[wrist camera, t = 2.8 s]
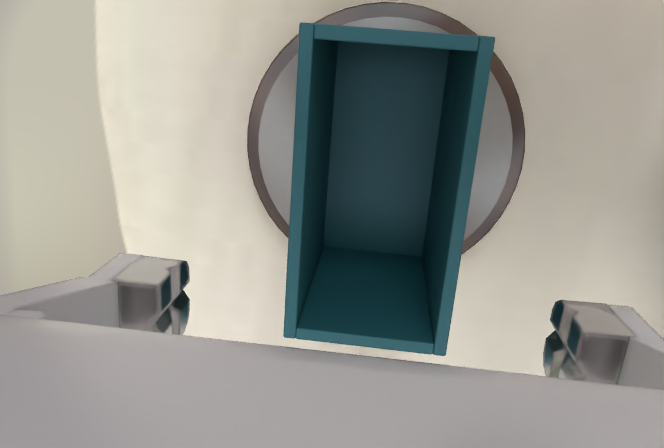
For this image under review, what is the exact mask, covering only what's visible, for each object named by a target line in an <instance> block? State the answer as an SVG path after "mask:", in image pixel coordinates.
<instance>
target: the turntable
mask: <svg viewBox="0 0 664 448" xmlns="http://www.w3.org/2000/svg"><path fill="white" fill-rule="evenodd" d="M313 24H327V25H340V26H354V27H367V28H380V29H394V30H407V31H420V32H434V33H447V34H460V35H473V36H478V35H477V34H476V33H474V32H473V31H472V30H470V29H469V28H467V27H466V26H465V25H463V24H462V23H460V22H459V21H457V20H455V19H453V18H451V17H449V16H447V15H445V14H443V13H440V12H438V11H435V10H432V9H429V8H426V7H423V6H417V5H412V4H407V3H394V2H380V3H369V4H362V5H358V6H354V7H350V8H346V9H343V10H340V11H338V12H335V13H333V14H330V15H328V16H326V17H324V18H322V19H320V20H319V21H317V22H315V23H313ZM298 45H299V34H298V35H297V36H295V37H294V38H293V39H292V40H291V41H290V42H289V43H288V44H287V45H286V46H285V47H284V48H283V49H282V50H281V52H280V53H279V54H278V56H277V57H276V58H275V59H274V61H273V62H272V63H271V65H270V66H269V68H268V70H267V72H266V73H265V75H264V77H263V78H262V80H261V83H260V85H259V87H258V90H257V92H256V95H255V97H254V101H253V105H252V108H251V112H250V117H249V125H248V137H247V150H248V158H249V166H250V170H251V174H252V178H253V182H254V185H255V187H256V190H257V192H258V195H259V197H260V200H261V202H262V203H263V205H264V207H265V209H266V211H267V212H268V214H269V216H270V217H271V218H272V220H273V221H274V222H275V224H276V225H277V227H278V228H279V229H280V230H281V231H282V232H283V233H284V234H285V235H286V236H287V237H288V239H289V220H290V201H291V182H292V162H293V143H294V123H295V104H296V84H297V65H298ZM524 151H525V128H524V119H523V112H522V108H521V104H520V100H519V96H518V94H517V91H516V89H515V86H514V84H513V81H512V79H511V77H510V75H509V74H508V72H507V70H506V68H505V67H504V65H503V63H502V62H501V60H500V59H499V58H498V57H497V55H496V54H495V53H494V52H493V55H492V62H491V68H490V74H489V81H488V87H487V93H486V100H485V106H484V113H483V119H482V125H481V132H480V138H479V145H478V151H477V157H476V164H475V170H474V177H473V183H472V189H471V196H470V202H469V209H468V215H467V221H466V228H465V234H464V240H463V247H462V253H461V254H463V253H464V252H466V251H467V250H468V249H470V248H471V247H472V246H474V245H475V244H476V243H477V242H478V241H479V240H480V239H481V238H482V237H483V236H485V235H486V234H487V233H488V232H489V230H490V229H491V228H492V227H493V225H494V224H495V223H496V222H497V221H498V219H499V218H500V217H501V215H502V213H503V212H504V210H505V208H506V207H507V205H508V204H509V202H510V199H511V197H512V195H513V193H514V190H515V188H516V186H517V183H518V179H519V176H520V173H521V169H522V164H523V157H524Z"/></svg>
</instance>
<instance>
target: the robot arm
mask: <svg viewBox="0 0 664 448" xmlns="http://www.w3.org/2000/svg"><path fill="white" fill-rule="evenodd" d="M188 282H189V266H188V263H187V261H182V260H173V259H165V258H157V257H149V256H143V255H137V254H126V253H119V254H118V255H117V256H115V257H114V258H113V259H111V260H110V261H109V262H107V263H106V264H105V265H103V266H102V267H101V268H100V269H98V270H97V271H96V272H94V273H93V274H91V275H90V276H89V277H88V278H82V277H79V278H75V279H70V280H66V281H62V282H57V283H53V284H49V285H44V286H40V287H35V288H32V289H27V290H22V291H18V292H14V293H9V294H6V295H1V296H0V448H664V340H663V339H662V338H661V337H660V335H659V334H658V333H657V332H656V331H655V330H654V329H653V328H652V327H651V326H650V325H649V324H648V323H647V322H646V321H645V320H644V319H643V318H642V317H641V316H640V315H639V314H638V313H637V312H636V311H635V310H634V309H633V308H632V307H629V306H619V305H607V304H603V303H591V302H579V301H567V300H559V301H557V302H555V305H554V307H553V309H552V313H551V318H550V321H551V323H552V325H553V327H554V329H555V331H554V332H553V333H552V334H551V335H549V336H548V337H547V338H546V341H545V347H544V352H543V366H544V371H545V374H546V376H537V375H529V374H520V373H511V372H502V371H494V370H485V369H476V368H467V367H458V366H450V365H441V364H432V363H423V362H414V361H406V360H397V359H388V358H379V357H371V356H362V355H353V354H344V353H335V352H327V351H318V350H309V349H300V348H291V347H283V346H274V345H265V344H256V343H247V342H239V341H230V340H221V339H212V338H204V337H195V336H186V335H183V333H184V332H185V328H186V325H187V322H188V317H189V305H190V299H189V298H188V296H187V295H186V294H185V292H184V291H183V289H184V287H185V286H186V285H187V284H188Z"/></svg>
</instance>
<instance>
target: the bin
mask: <svg viewBox="0 0 664 448" xmlns="http://www.w3.org/2000/svg"><path fill="white" fill-rule="evenodd" d="M494 42H495V38H494V37H487V36H473V35H460V34H447V33H434V32H420V31H407V30H394V29H380V28H367V27H354V26H340V25H327V24H313V23H300V26H299V45H298V65H297V84H296V104H295V123H294V143H293V162H292V182H291V201H290V220H289V240H288V259H287V279H286V298H285V318H284V337H286V338H297V339H303V340H312V341H321V342H329V343H338V344H346V345H355V346H364V347H372V348H381V349H389V350H398V351H406V352H415V353H424V354H434V355H441V356H445V355H446V349H447V343H448V336H449V330H450V324H451V317H452V311H453V304H454V298H455V292H456V285H457V279H458V272H459V266H460V260H461V253H462V247H463V240H464V234H465V228H466V221H467V215H468V209H469V202H470V196H471V189H472V183H473V177H474V170H475V164H476V157H477V151H478V145H479V138H480V132H481V125H482V119H483V113H484V106H485V100H486V93H487V87H488V81H489V74H490V68H491V62H492V55H493V49H494Z"/></svg>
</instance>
